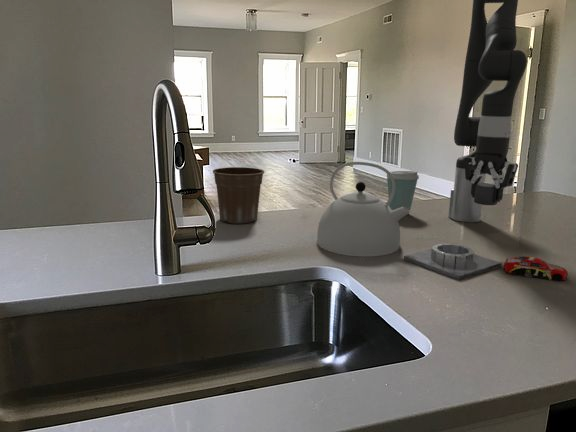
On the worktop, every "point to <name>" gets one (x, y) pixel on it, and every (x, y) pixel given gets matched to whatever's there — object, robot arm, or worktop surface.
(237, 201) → the plant pot
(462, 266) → the square plate with hole
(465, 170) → the robot arm
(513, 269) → the race car
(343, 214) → the kettle
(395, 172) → the disposable coffee cup
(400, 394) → the worktop surface
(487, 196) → the cylindrical peg
